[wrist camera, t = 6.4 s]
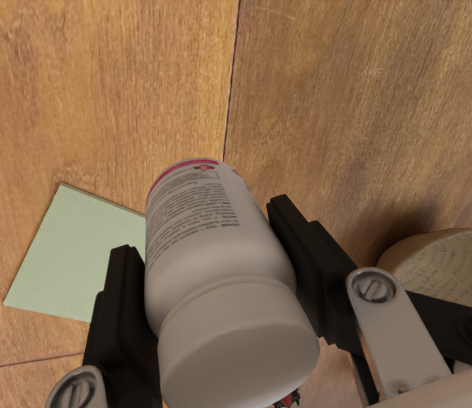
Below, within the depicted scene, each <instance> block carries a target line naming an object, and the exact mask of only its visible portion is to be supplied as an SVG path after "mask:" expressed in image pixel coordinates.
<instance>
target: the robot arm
mask: <svg viewBox="0 0 472 408" xmlns="http://www.w3.org/2000/svg"><path fill="white" fill-rule="evenodd" d="M266 206H267V212H268V218H269V223H270V225H271V227H272V229H273V231H274V232H275V234H276V236H277V237H278V239H279V240H280V242H281V244H282V246H283V247H284V249H285V251H286V253H287V254H288V256H289V258H290V260H291V262H292V264H293V267H294V270H295V274H296V280H297V289H296V295H295V296H296V297H297V300H298V301H299V303H300V305H301V307H302V308H303V310H304V312H305V314H306V316H307V318H308V320H309V322H310V324H311V326H312V327H313V329H314V331H315V333H316V335H317V336H318V338H320V337H324V339H325V340H326V342H327V344H328V346H329V345H331V344H334V343H335V344H336V346H337V347H338V348H339V349H342V350H345V351H346V352H347V356H348V359H349V362H350V366H351V369H352V372H353V376H354V379H355V382H356V386H357V389H358V393H359V396H360V399H361V403H362V406H363V408H472V307H469V306H465V305H461V304H458V303H454V302H450V301H446V300H442V299H438V298H434V297H431V296H427V295H423V294H419V293H415V292H411V291H407V290H404V288H403V286H402V285H401V283H400V282H399V280H398V279H397V278H396V277H395V276H394V275H392V274H391V273H390V272H388V271H386V270H383V269H381V268H376V267H362V268H358V267H357V266H356V264H355V263H354V262H353V261H352V260H351V259H350V257H349V256H348V255H347V254H346V253H345V252H344V250H343V249H342V248H341V247H340V246H339V245H338V243H337V242H336V241H335V240H334V239H333V238H332V236H331V235H330V234H329V233H328V232H327V231H326V229H325V228H324V227H323V226H322V225H321V224H320V223H319V222H318V221H316V220H315V221H312V222H309V223H308V221H307V220H306V219H305V218H304V216H303V215H302V214H301V213H300V211H299V210H298V209H297V208H296V206H295V205H294V204H293V203H292V202H291V200H290V199H289V198H288V197H287V195H286V194H283V195H279V196H276V197H273V198H271V199H270V203H267V204H266ZM144 281H145V263H144V261H143V259H142V258H141V256H140V254H139V252H138V250H137V248H136V247H135V246H133V247H130V246H129V245H128V244H126V245H122V246H119V247H116V248H113V249H111V251H110V256H109V262H108V268H107V273H106V279H105V284H104V290H103V291H100V292H98V294H97V295H96V298H95V303H94V308H93V313H92V318H91V323H90V328H89V333H88V338H87V343H86V348H85V353H84V358H83V363H82V366H80V367H78V368H76V369H74V370H72V371H70V372H69V373H68V374H66V375H65V376H64V377H63V378H62V379H61V380H60V381H59V382H58V383H57V384H56V385H55V386H54V388H53V389H52V391H51V392H50V394H49V396H48V398H47V400H46V403H45V407H44V408H163V404H162V394H161V389H160V372H159V361H158V351H157V348H158V342H159V339H158V338H157V337H156V335H155V334H154V333H153V331H152V330H151V328H150V326H149V324H148V321H147V318H146V314H145V305H144Z"/></svg>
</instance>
